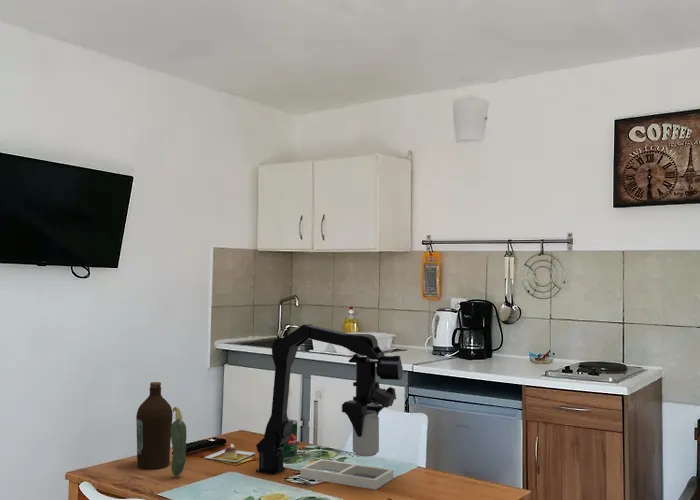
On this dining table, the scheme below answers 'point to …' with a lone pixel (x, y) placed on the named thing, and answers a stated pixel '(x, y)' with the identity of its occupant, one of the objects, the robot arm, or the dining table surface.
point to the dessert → (229, 454)
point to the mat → (365, 476)
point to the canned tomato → (291, 443)
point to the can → (367, 436)
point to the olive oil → (154, 430)
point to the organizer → (347, 474)
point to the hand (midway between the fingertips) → (365, 433)
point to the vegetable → (178, 443)
